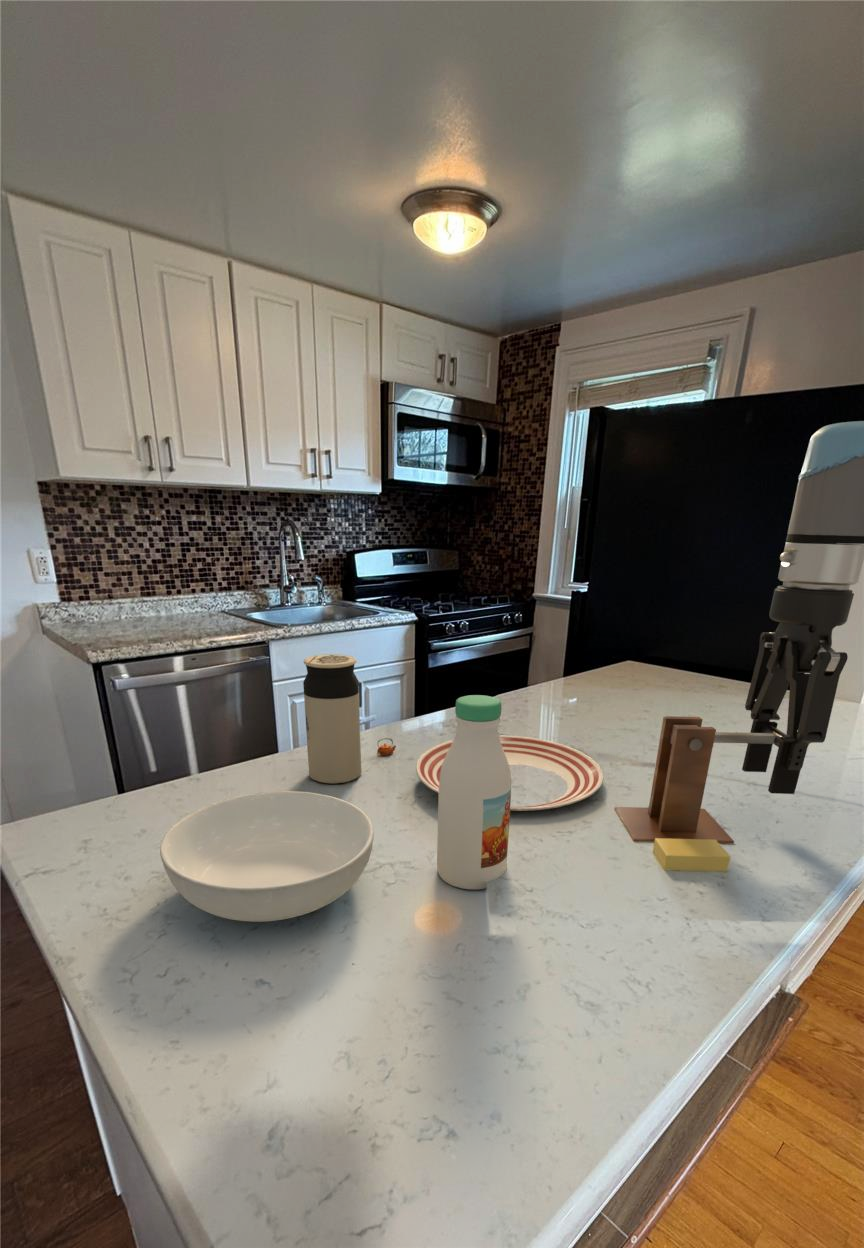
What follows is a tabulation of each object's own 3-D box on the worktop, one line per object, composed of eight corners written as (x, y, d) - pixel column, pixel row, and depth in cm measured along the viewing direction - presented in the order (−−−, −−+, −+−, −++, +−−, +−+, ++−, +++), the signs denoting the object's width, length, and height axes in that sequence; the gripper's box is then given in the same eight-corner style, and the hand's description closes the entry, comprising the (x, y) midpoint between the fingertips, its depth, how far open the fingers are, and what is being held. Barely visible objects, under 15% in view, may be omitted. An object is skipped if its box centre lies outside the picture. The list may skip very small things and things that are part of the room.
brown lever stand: (702, 818, 82) (723, 712, 76) (731, 852, 73) (758, 735, 68) (613, 816, 82) (627, 710, 76) (632, 849, 73) (650, 733, 68)
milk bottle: (455, 898, 63) (460, 714, 56) (426, 862, 70) (428, 693, 63) (518, 882, 66) (532, 705, 59) (485, 850, 73) (493, 687, 65)
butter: (711, 862, 71) (715, 839, 70) (725, 880, 67) (731, 856, 66) (650, 860, 71) (654, 837, 70) (662, 879, 67) (666, 855, 66)
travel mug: (367, 767, 97) (364, 655, 90) (352, 787, 90) (348, 666, 83) (319, 763, 98) (313, 652, 92) (301, 782, 91) (293, 663, 84)
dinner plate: (592, 841, 75) (595, 817, 74) (387, 807, 83) (387, 785, 82) (607, 765, 99) (609, 746, 98) (447, 745, 108) (448, 727, 106)
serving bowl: (284, 982, 51) (277, 914, 49) (124, 909, 61) (112, 848, 58) (411, 870, 68) (411, 815, 66) (271, 826, 78) (266, 776, 75)
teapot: (381, 749, 105) (380, 735, 104) (397, 752, 104) (396, 737, 103) (373, 755, 102) (373, 740, 101) (390, 757, 101) (390, 742, 100)
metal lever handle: (771, 739, 76) (775, 721, 75) (797, 756, 70) (802, 737, 69) (664, 738, 76) (667, 719, 75) (682, 755, 70) (685, 735, 70)
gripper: (740, 577, 75) (705, 753, 84) (832, 594, 57) (775, 814, 66) (801, 579, 75) (760, 754, 84) (912, 596, 57) (845, 816, 66)
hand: (766, 780), depth 75 cm, fingers closed on metal lever handle, 6 cm apart
